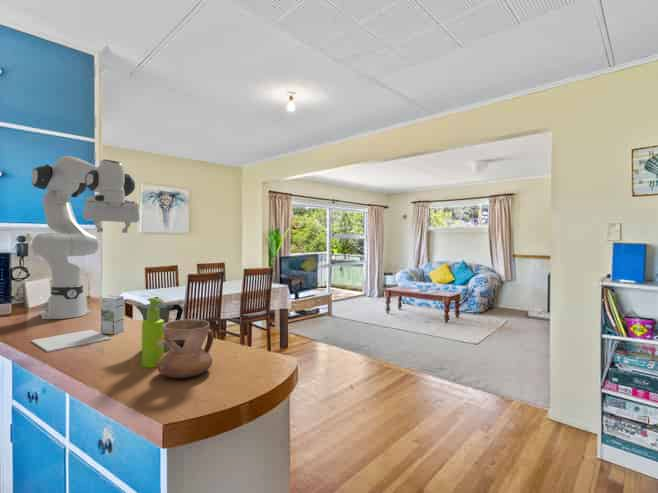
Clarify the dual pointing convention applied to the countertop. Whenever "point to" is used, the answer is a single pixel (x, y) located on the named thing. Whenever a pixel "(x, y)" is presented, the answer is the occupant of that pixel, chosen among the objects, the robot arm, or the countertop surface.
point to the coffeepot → (162, 313)
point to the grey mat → (70, 340)
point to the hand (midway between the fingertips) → (112, 232)
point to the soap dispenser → (152, 336)
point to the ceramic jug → (185, 348)
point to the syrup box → (112, 314)
